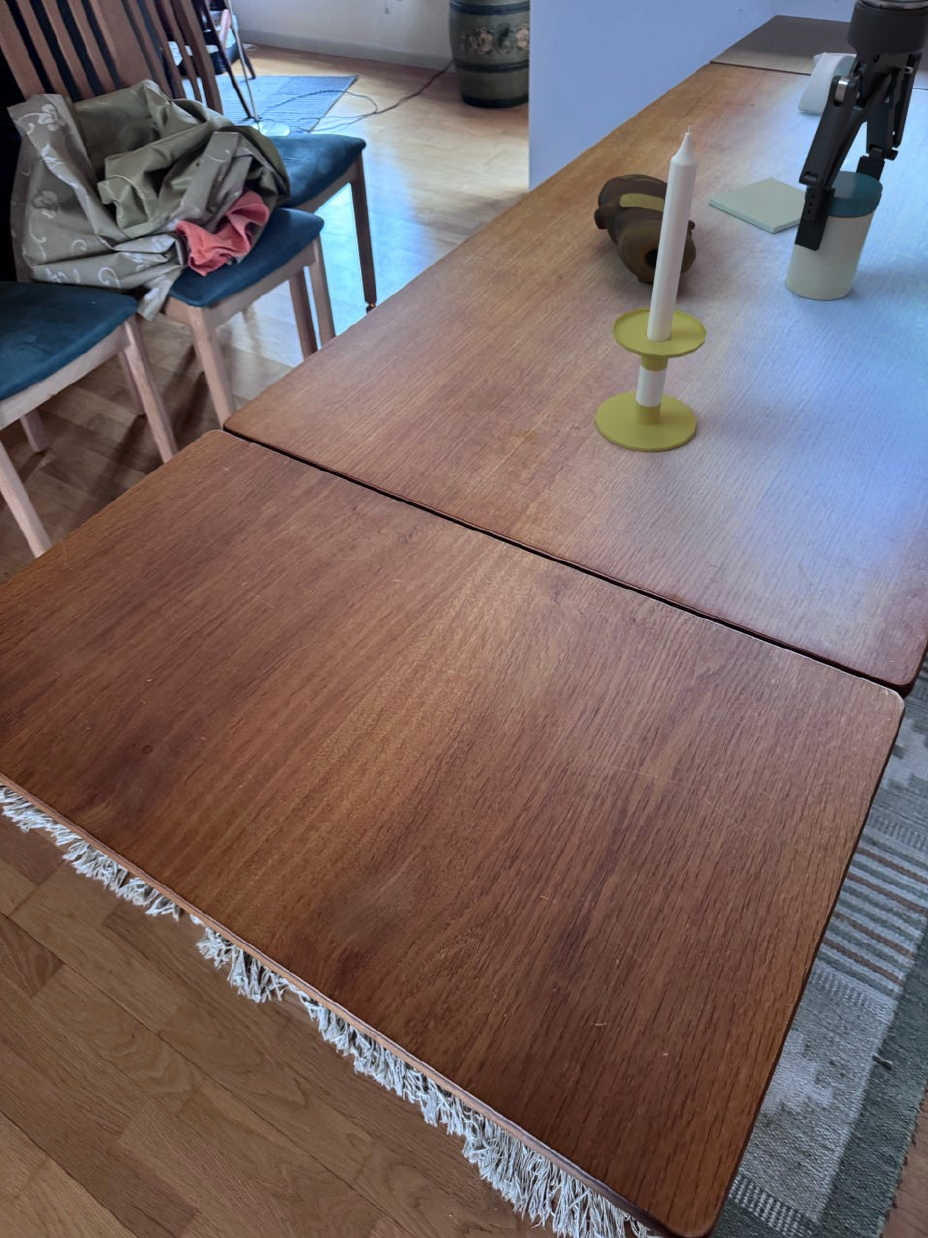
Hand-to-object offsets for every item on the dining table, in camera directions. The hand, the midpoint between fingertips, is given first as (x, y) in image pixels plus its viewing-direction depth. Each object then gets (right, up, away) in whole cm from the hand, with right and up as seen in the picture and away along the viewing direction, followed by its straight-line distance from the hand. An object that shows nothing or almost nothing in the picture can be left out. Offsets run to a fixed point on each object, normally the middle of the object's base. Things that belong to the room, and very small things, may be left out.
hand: (831, 231), depth 100 cm
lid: (0, +3, -4) cm, 5 cm away
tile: (0, +12, +20) cm, 23 cm away
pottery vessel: (-20, +1, +10) cm, 23 cm away
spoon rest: (+22, +46, +51) cm, 72 cm away
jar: (0, -4, +5) cm, 6 cm away
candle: (-24, -25, -13) cm, 37 cm away
